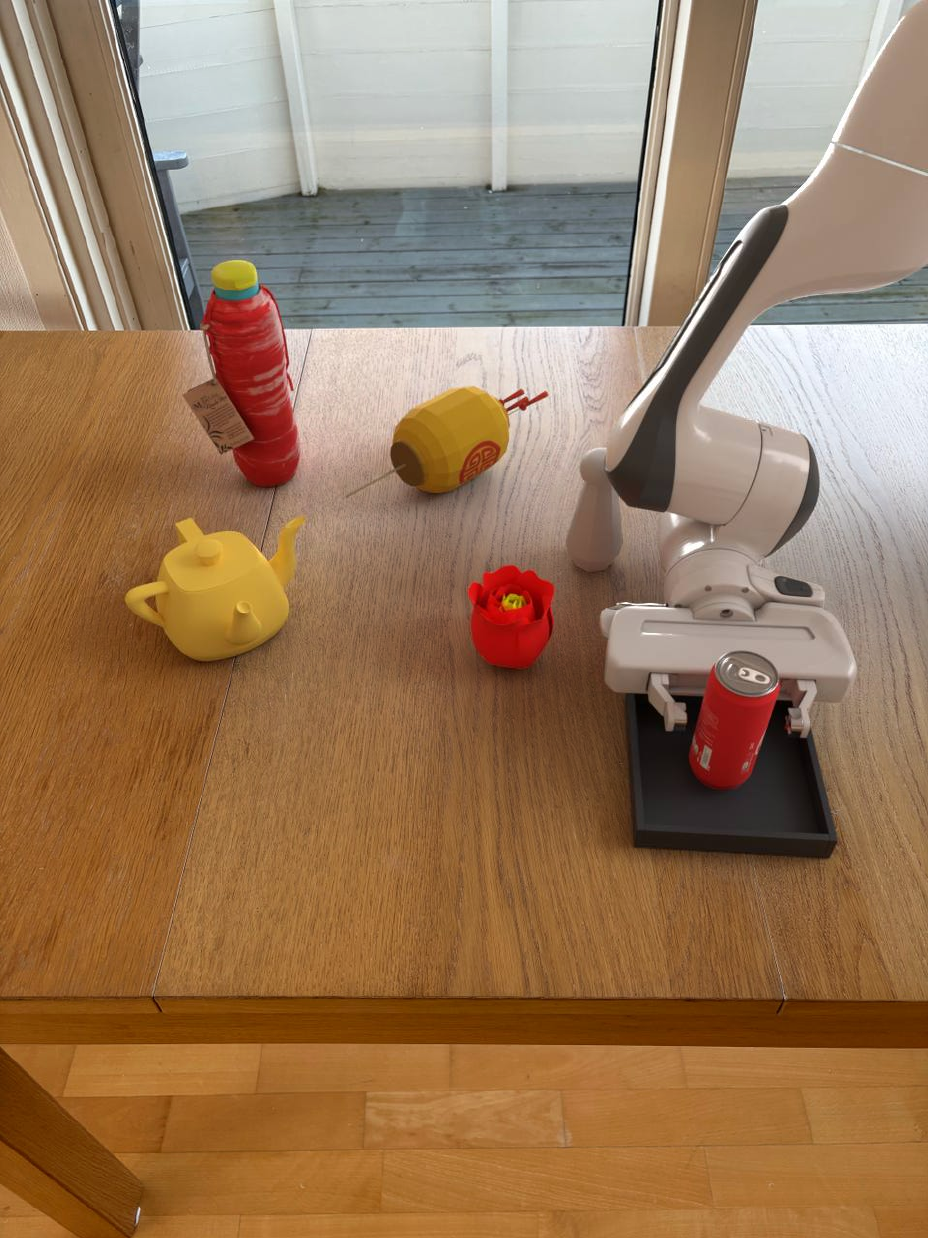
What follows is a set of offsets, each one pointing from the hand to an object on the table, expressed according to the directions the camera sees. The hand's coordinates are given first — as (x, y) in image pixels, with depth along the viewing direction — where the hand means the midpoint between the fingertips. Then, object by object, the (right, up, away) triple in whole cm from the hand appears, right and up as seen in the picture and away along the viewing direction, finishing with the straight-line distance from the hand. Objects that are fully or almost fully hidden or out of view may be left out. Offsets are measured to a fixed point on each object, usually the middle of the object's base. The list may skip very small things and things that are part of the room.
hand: (737, 730), depth 74 cm
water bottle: (-45, +25, +36) cm, 63 cm away
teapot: (-44, +8, +19) cm, 48 cm away
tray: (0, -4, +6) cm, 7 cm away
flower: (-17, +5, +16) cm, 24 cm away
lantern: (-23, +25, +36) cm, 50 cm away
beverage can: (0, -4, +5) cm, 7 cm away
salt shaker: (-8, +15, +26) cm, 30 cm away
